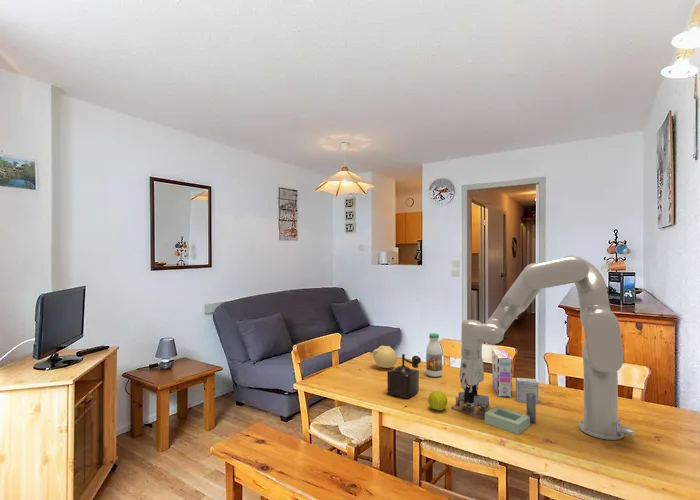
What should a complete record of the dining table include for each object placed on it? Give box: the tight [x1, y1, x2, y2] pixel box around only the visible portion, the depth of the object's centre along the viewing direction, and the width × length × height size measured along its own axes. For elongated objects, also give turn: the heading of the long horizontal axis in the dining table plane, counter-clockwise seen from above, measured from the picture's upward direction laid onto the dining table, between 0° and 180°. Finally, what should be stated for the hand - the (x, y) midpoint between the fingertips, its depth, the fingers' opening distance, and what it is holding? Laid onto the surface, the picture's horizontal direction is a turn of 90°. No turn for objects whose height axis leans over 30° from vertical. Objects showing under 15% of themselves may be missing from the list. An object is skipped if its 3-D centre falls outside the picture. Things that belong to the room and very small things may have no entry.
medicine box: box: [515, 377, 540, 405], centre depth 154 cm, size 8×4×9 cm, turn 74°
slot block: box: [484, 405, 531, 435], centre depth 133 cm, size 12×9×4 cm
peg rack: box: [450, 396, 491, 421], centre depth 144 cm, size 14×7×4 cm, turn 42°
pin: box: [525, 393, 537, 425], centre depth 135 cm, size 3×3×10 cm
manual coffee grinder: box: [386, 353, 422, 399], centre depth 162 cm, size 16×11×18 cm
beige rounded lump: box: [372, 345, 398, 369], centre depth 200 cm, size 11×12×11 cm
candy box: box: [491, 349, 513, 398], centre depth 165 cm, size 14×6×16 cm, turn 168°
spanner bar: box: [457, 391, 490, 408], centre depth 144 cm, size 12×3×4 cm, turn 42°
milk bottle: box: [425, 332, 443, 378], centre depth 187 cm, size 8×8×20 cm
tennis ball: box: [427, 390, 448, 411], centre depth 146 cm, size 7×7×7 cm
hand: (470, 400), depth 145 cm, fingers closed on spanner bar, 2 cm apart
